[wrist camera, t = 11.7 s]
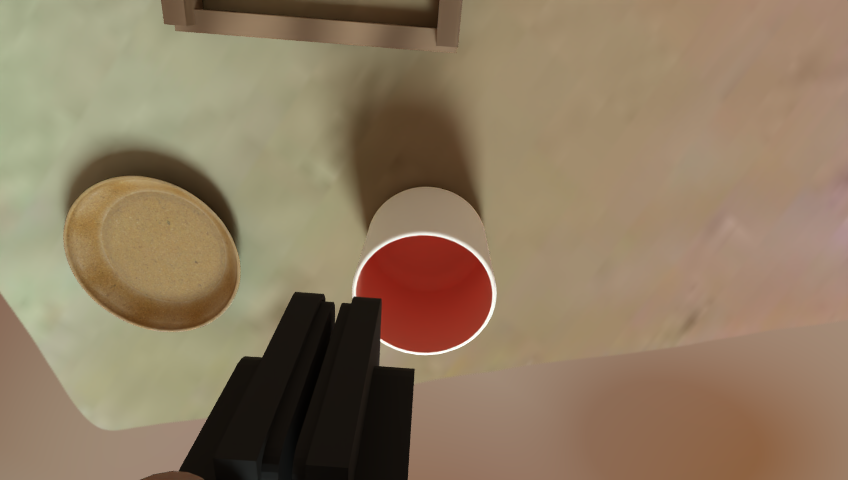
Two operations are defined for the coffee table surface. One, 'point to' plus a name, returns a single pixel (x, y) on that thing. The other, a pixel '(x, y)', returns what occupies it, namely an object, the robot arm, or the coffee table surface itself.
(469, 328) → the cup
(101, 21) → the coffee table surface
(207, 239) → the plant saucer
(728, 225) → the coffee table surface
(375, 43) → the frame
